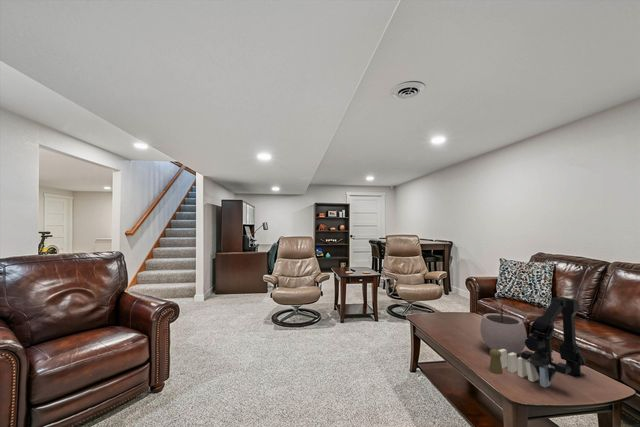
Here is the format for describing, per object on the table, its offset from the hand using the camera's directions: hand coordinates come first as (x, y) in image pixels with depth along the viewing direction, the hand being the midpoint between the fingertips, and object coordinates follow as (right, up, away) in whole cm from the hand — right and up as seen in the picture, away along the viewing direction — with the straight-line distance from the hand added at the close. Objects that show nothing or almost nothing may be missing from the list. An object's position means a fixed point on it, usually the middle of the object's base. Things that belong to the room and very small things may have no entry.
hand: (545, 379), depth 134 cm
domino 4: (-2, -3, +4) cm, 6 cm away
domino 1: (-9, -4, +18) cm, 20 cm away
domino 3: (-5, -3, +9) cm, 10 cm away
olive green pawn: (-16, -4, +13) cm, 21 cm away
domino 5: (0, -3, 0) cm, 3 cm away
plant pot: (+3, -5, +35) cm, 35 cm away
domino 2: (-7, -4, +13) cm, 15 cm away
